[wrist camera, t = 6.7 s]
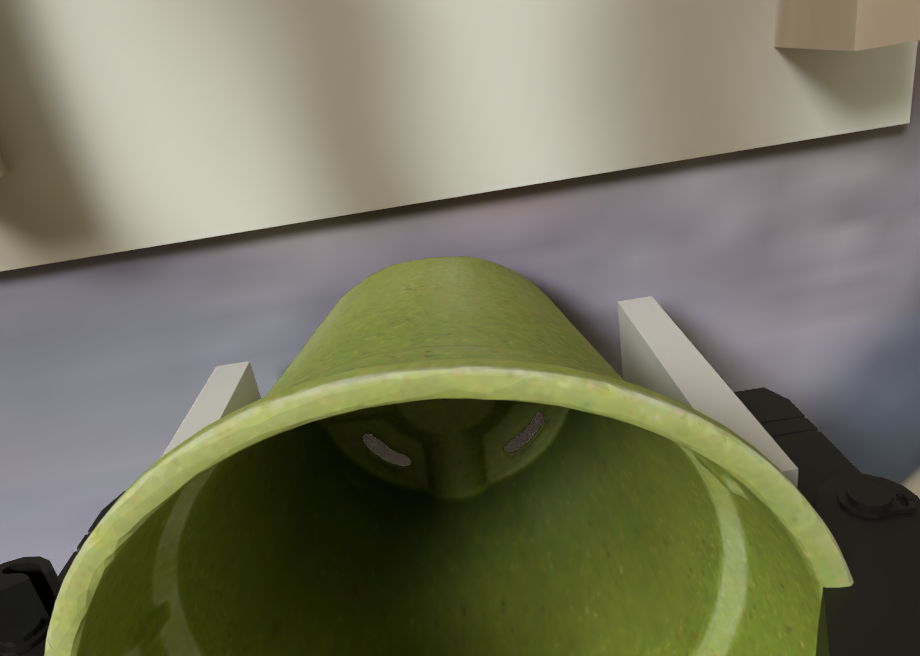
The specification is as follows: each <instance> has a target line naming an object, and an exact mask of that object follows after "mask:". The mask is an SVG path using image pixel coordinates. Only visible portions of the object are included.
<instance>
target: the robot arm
mask: <svg viewBox="0 0 920 656" xmlns="http://www.w3.org/2000/svg"><path fill="white" fill-rule="evenodd" d="M618 315H619V330H620V344H621V359H622V373H623V380H624V381H626V382H629V383H632V384H635V385H638V386H641V387H645V388H647V389H650V390H652V391H655V392H657V393H660V394H662V395H664V396H667V397H669V398H672V399H674V400H676V401H678V402H680V403H683V404H685V405H687V406H689V407H691V408H693V409H695V410H697V411H699V412H701V413H703V414H704V415H706V416H708V417H710V418H711V419H713V420H715V421H717V422H719V423H720V424H722V425H724V426H726V427H727V428H729V429H730V430H732V431H733V432H735V433H736V434H737V435H739V436H740V437H742V438H743V439H744V440H746V441H747V442H749V443H750V444H751V445H753V446H754V447H755V448H756V449H758V450H759V451H760V452H761V453H762V454H763V455H764V456H765V457H766V458H768V459H769V460H770V461H771V462H772V463H773V464H774V465H775V466H777V467H778V468H779V469H780V471H781V472H782V473H783V474H784V475H785V476H786V477H787V478H788V479H789V480H790V481H791V482H792V483H793V484H794V486H795V487H796V488H797V489H798V490H799V491H800V492H801V493H802V495H803V496H804V497H805V498H806V500H807V501H808V502H809V504H810V505H811V506H812V507H813V509H814V510H815V511H816V512H817V514H818V515H819V516H820V517H821V519H822V520H823V521H824V523H825V524H826V526H827V527H828V529H829V531H830V532H831V534H832V535H833V537H834V539H835V541H836V542H837V544H838V546H839V548H840V550H841V552H842V555H843V557H844V559H845V562H846V564H847V566H848V569H849V571H850V574H851V576H852V579H853V582H854V583H853V584H852V585H851V586H847V587H840V588H825V587H823V592H822V600H821V608H820V616H819V623H818V634H817V646H816V656H920V499H919V498H918V496H916V495H915V494H914V493H912V492H911V491H910V490H908V489H907V488H905V487H904V486H903V485H900V484H898V483H895V482H893V481H890V480H888V479H885V478H882V477H876V476H871V475H866V474H861V473H860V472H859V471H858V470H857V469H856V468H855V467H854V466H853V465H852V464H851V463H850V462H849V461H848V459H847V458H846V457H845V456H844V455H843V454H842V453H841V452H840V451H839V450H838V449H837V448H836V447H835V446H834V445H833V444H832V443H831V442H830V441H829V440H828V439H827V438H826V437H825V436H824V435H823V434H822V433H821V432H818V431H817V428H816V427H815V426H814V425H813V424H812V423H811V422H810V421H809V420H808V419H805V417H804V415H803V414H802V413H801V412H800V411H799V410H798V409H797V408H796V406H795V405H794V404H793V403H792V402H791V401H790V400H789V399H787V398H784V397H782V396H780V395H778V394H776V393H774V392H772V391H770V390H768V389H766V388H758V389H751V390H745V391H739V392H733V391H732V390H731V389H730V388H729V387H728V385H727V384H726V383H725V382H724V381H723V380H722V378H721V377H720V376H719V375H718V374H717V372H716V371H715V370H714V369H713V368H712V367H711V365H710V364H709V363H708V362H707V361H706V360H705V358H704V357H703V356H702V355H701V354H700V352H699V351H698V350H697V349H696V348H695V347H694V345H693V344H692V343H691V342H690V341H689V340H688V338H687V337H686V336H685V335H684V334H683V332H682V331H681V330H680V329H679V328H678V327H677V325H676V324H675V323H674V322H673V321H672V319H671V318H670V317H669V316H668V315H667V314H666V312H665V311H664V310H663V309H662V308H661V307H660V305H659V304H658V303H657V302H656V301H655V299H654V298H653V297H652V296H649V297H643V298H637V299H631V300H625V301H618ZM259 399H261V396H260V393H259V390H258V387H257V383H256V380H255V377H254V374H253V370H252V367H251V364H250V361H248V362H241V363H235V364H229V365H223V366H217V367H216V368H215V369H214V371H213V373H212V374H211V376H210V378H209V379H208V381H207V383H206V384H205V386H204V388H203V389H202V391H201V392H200V394H199V396H198V397H197V399H196V401H195V402H194V404H193V406H192V407H191V409H190V411H189V412H188V414H187V415H186V417H185V419H184V420H183V422H182V424H181V425H180V427H179V429H178V430H177V432H176V434H175V435H174V437H173V439H172V440H171V442H170V443H169V445H168V447H167V448H166V450H165V452H164V453H163V455H162V456H164V455H165V454H167V453H168V452H169V451H171V450H172V449H174V448H175V447H177V446H178V445H179V444H181V443H182V442H184V441H185V440H187V439H188V438H190V437H191V436H192V435H194V434H195V433H197V432H198V431H200V430H201V429H202V428H204V427H206V426H208V425H209V424H211V423H213V422H215V421H217V420H219V419H221V418H222V417H224V416H226V415H228V414H230V413H232V412H234V411H236V410H238V409H240V408H242V407H244V406H246V405H248V404H251V403H253V402H255V401H257V400H259ZM124 493H125V491H124V492H123V493H122V494H120V495H119V496H118V497H117V498H116V499H115V500H113V501H112V502H111V503H110V504H109V505H108V506H106V507H105V508H104V509H103V510H102V511H101V512H100V514H99V515H98V517H97V518H96V520H95V521H94V523H93V524H92V526H91V527H90V529H89V530H88V532H89V533H88V535H85V536H84V538H83V539H82V541H81V542H80V544H79V545H78V547H77V551H76V552H74V553H73V555H72V556H71V558H70V559H69V561H68V562H67V564H66V565H65V567H64V568H63V570H62V571H61V573H60V574H59V576H57V574H56V572H55V570H54V568H53V566H52V564H51V562H50V561H49V560H47V559H44V558H42V557H40V556H39V557H23V558H19V559H16V560H12V561H9V562H5V563H3V564H1V565H0V656H44V655H45V644H46V637H47V632H48V628H49V624H50V621H51V617H52V613H53V609H54V605H55V601H56V599H57V596H58V594H59V591H60V588H61V586H62V583H63V580H64V578H65V576H66V574H67V572H68V570H69V568H70V567H71V565H72V563H73V561H74V559H75V557H76V556H77V554H78V553H79V551H80V549H81V548H82V546H83V544H84V543H85V541H86V540H87V539H88V537H89V536H90V534H91V533H92V532H93V530H94V529H95V528H96V526H97V525H98V524H99V522H100V521H101V519H102V518H103V517H104V516H105V515H106V513H107V512H108V511H109V510H110V509H111V507H112V506H113V505H114V504H115V502H116V501H117V500H118V499H119V498H120V497H121V496H122V495H123V494H124Z"/></svg>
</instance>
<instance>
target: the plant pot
mask: <svg viewBox="0 0 920 656" xmlns="http://www.w3.org/2000/svg"><path fill="white" fill-rule="evenodd" d="M537 412H542V413H543V418H544V423H543V424H542V426H541V428H540V429H539V430H538V431H537V433H536V434H535V435H534V436H533V437H532V438H531V440H530V441H529V442H528V443H527V444H525V445H524V446H523V447H522V448H521V449H520V450H518V451H513V452H509V453H508V452H506V451H504V446H505V445H506V444H507V443H508V442H509V441H510V440H511V439H513V438H514V437H515V436H517V435H519V434H520V433H522V432H523V430H524V429H525V428H526V426H527V425H529V424H530V421H531V420H532V419H533V417H534V416H535V415H536V413H537ZM364 434H373V435H374V436H375V437H377V438H378V439H380V440H381V441H382V442H383V443H384V444H386V445H387V446H388V447H389V448H391V449H393V450H394V451H396V452H398V453H401V454H404V455H406V456H407V457H409V458H410V459H411V461H412V462H411V463H412V464H411V465H410V466H398V465H394V464H392V463H389V462H387V461H385V460H383V459H382V458H380V457H379V456H377V455H376V454H374V453H373V452H372V451H371V450H370V449H369V448H368V447H367V446H366V445H365V443H364V442H363V438H362V436H363V435H364ZM853 583H854V582H853V579H852V576H851V574H850V571H849V569H848V566H847V564H846V562H845V559H844V557H843V555H842V552H841V550H840V548H839V546H838V544H837V542H836V541H835V539H834V537H833V535H832V534H831V532H830V531H829V529H828V527H827V526H826V524H825V523H824V521H823V520H822V519H821V517H820V516H819V515H818V514H817V512H816V511H815V510H814V509H813V507H812V506H811V505H810V504H809V502H808V501H807V500H806V498H805V497H804V496H803V495H802V493H801V492H800V491H799V490H798V489H797V488H796V487H795V486H794V484H793V483H792V482H791V481H790V480H789V479H788V478H787V477H786V476H785V475H784V474H783V473H782V472H781V471H780V469H779V468H778V467H777V466H775V465H774V464H773V463H772V462H771V461H770V460H769V459H768V458H766V457H765V456H764V455H763V454H762V453H761V452H760V451H759V450H758V449H756V448H755V447H754V446H753V445H751V444H750V443H749V442H747V441H746V440H744V439H743V438H742V437H740V436H739V435H737V434H736V433H735V432H733V431H732V430H730V429H729V428H727V427H726V426H724V425H722V424H720V423H719V422H717V421H715V420H713V419H711V418H710V417H708V416H706V415H704V414H703V413H701V412H699V411H697V410H695V409H693V408H691V407H689V406H687V405H685V404H683V403H680V402H678V401H676V400H674V399H672V398H669V397H667V396H664V395H662V394H660V393H657V392H655V391H652V390H650V389H647V388H645V387H641V386H638V385H635V384H632V383H629V382H626V381H624V380H623V379H622V378H621V377H620V375H619V374H618V373H617V372H616V371H615V370H614V369H613V368H612V367H611V366H610V365H609V364H608V363H607V362H606V360H605V359H604V358H603V357H602V356H601V355H600V354H599V353H598V352H597V351H596V350H595V348H594V347H593V346H592V345H591V344H590V343H589V342H588V341H587V340H586V339H585V338H584V337H583V335H582V334H581V333H580V332H579V331H578V330H577V329H576V328H575V327H574V326H573V325H572V324H571V322H570V321H569V320H568V319H567V318H566V317H565V315H564V314H563V313H562V312H561V311H560V310H559V309H558V308H557V307H556V306H555V304H554V303H553V302H552V301H551V300H550V299H549V297H548V296H547V295H546V294H544V293H543V292H542V291H541V290H540V289H539V288H538V287H537V286H536V285H534V284H533V283H532V282H530V281H529V280H527V279H526V278H524V277H523V276H521V275H519V274H518V273H516V272H514V271H512V270H510V269H508V268H505V267H503V266H501V265H498V264H496V263H493V262H490V261H486V260H482V259H478V258H473V257H464V256H458V257H436V258H428V259H421V260H415V261H409V262H404V263H399V264H394V265H391V266H389V267H387V268H385V269H382V270H380V271H378V272H376V273H374V274H372V275H371V276H369V277H368V278H366V279H365V280H363V281H362V282H361V283H359V284H358V285H356V286H355V287H354V288H352V289H351V290H350V291H349V292H348V293H346V294H345V295H344V296H343V297H342V299H341V300H340V301H339V302H338V303H337V304H336V305H335V307H334V308H333V309H332V311H331V312H330V313H329V315H328V316H327V317H326V319H325V320H324V321H323V322H322V324H321V325H320V326H319V327H318V329H317V330H316V331H315V333H314V334H313V335H312V337H311V338H310V339H309V341H308V342H307V343H306V345H305V346H304V348H303V349H302V350H301V352H300V353H299V354H298V356H297V357H296V358H295V359H294V361H293V362H292V363H291V364H290V366H289V367H288V368H287V370H286V371H285V372H284V374H283V375H282V376H281V377H280V379H279V380H278V381H277V382H276V383H275V385H274V386H273V387H272V388H271V390H270V391H269V393H268V394H267V395H266V396H265V397H264V398H261V399H259V400H257V401H255V402H253V403H251V404H248V405H246V406H244V407H242V408H240V409H238V410H236V411H234V412H232V413H230V414H228V415H226V416H224V417H222V418H221V419H219V420H217V421H215V422H213V423H211V424H209V425H208V426H206V427H204V428H202V429H201V430H200V431H198V432H197V433H195V434H194V435H192V436H191V437H190V438H188V439H187V440H185V441H184V442H182V443H181V444H179V445H178V446H177V447H175V448H174V449H172V450H171V451H169V452H168V453H167V454H165V455H164V456H162V457H161V458H160V459H159V460H158V461H157V462H156V463H155V464H153V465H152V466H151V467H150V468H149V469H148V470H147V471H146V472H145V473H143V474H142V475H141V476H140V477H139V478H138V479H137V480H136V481H135V482H134V483H133V484H132V485H131V486H130V487H129V488H128V489H127V490H126V491H125V493H124V494H123V495H122V496H121V497H120V498H119V499H118V500H117V501H116V502H115V504H114V505H113V506H112V507H111V509H110V510H109V511H108V512H107V513H106V515H105V516H104V517H103V518H102V519H101V521H100V522H99V524H98V525H97V526H96V528H95V529H94V530H93V532H92V533H91V534H90V536H89V537H88V539H87V540H86V541H85V543H84V544H83V546H82V548H81V549H80V551H79V553H78V554H77V556H76V557H75V559H74V561H73V563H72V565H71V567H70V568H69V570H68V572H67V574H66V576H65V578H64V580H63V583H62V586H61V588H60V591H59V594H58V596H57V599H56V601H55V605H54V609H53V613H52V617H51V621H50V624H49V628H48V632H47V637H46V644H45V655H44V656H816V646H817V634H818V623H819V616H820V608H821V600H822V592H823V587H825V588H840V587H847V586H851V585H852V584H853Z"/></svg>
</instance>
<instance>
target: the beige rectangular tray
mask: <svg viewBox="0 0 920 656" xmlns="http://www.w3.org/2000/svg"><path fill="white" fill-rule="evenodd" d="M919 40H920V0H0V271H6V270H12V269H18V268H25V267H31V266H37V265H43V264H49V263H55V262H61V261H67V260H74V259H80V258H86V257H92V256H98V255H104V254H110V253H116V252H123V251H129V250H135V249H141V248H147V247H153V246H159V245H165V244H171V243H178V242H184V241H190V240H196V239H202V238H208V237H214V236H220V235H227V234H233V233H239V232H245V231H251V230H257V229H263V228H269V227H276V226H282V225H288V224H294V223H300V222H306V221H312V220H318V219H325V218H331V217H337V216H343V215H349V214H355V213H361V212H367V211H374V210H380V209H386V208H392V207H398V206H404V205H410V204H416V203H423V202H429V201H435V200H441V199H447V198H453V197H459V196H465V195H472V194H478V193H484V192H490V191H496V190H502V189H508V188H514V187H521V186H527V185H533V184H539V183H545V182H551V181H557V180H563V179H569V178H576V177H582V176H588V175H594V174H600V173H606V172H612V171H618V170H625V169H631V168H637V167H643V166H649V165H655V164H661V163H667V162H674V161H680V160H686V159H692V158H698V157H704V156H710V155H716V154H723V153H729V152H735V151H741V150H747V149H753V148H759V147H765V146H772V145H778V144H784V143H790V142H796V141H802V140H808V139H814V138H821V137H827V136H833V135H839V134H845V133H851V132H857V131H863V130H870V129H876V128H882V127H888V126H894V125H900V124H906V123H910V113H911V103H912V93H913V83H914V73H915V63H916V54H917V44H918V41H919Z"/></svg>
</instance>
